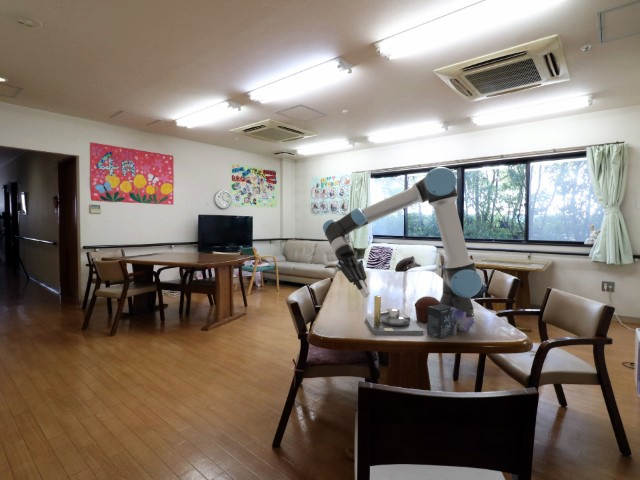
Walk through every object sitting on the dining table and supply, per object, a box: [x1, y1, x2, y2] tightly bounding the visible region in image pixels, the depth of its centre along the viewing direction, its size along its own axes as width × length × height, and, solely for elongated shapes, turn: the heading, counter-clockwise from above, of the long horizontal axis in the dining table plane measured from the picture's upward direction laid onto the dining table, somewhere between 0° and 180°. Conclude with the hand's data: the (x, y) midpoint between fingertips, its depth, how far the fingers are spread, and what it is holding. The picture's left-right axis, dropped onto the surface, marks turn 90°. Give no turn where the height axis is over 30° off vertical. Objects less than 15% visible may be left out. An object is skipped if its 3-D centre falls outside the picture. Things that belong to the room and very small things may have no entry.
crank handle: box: [373, 295, 411, 327], centre depth 126 cm, size 16×11×11 cm
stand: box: [365, 316, 424, 336], centre depth 127 cm, size 18×17×2 cm
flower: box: [453, 308, 475, 335], centre depth 122 cm, size 9×9×10 cm
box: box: [426, 304, 454, 340], centre depth 118 cm, size 8×6×11 cm
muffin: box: [414, 295, 441, 325], centre depth 135 cm, size 12×11×10 cm
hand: (366, 295), depth 128 cm, fingers closed
